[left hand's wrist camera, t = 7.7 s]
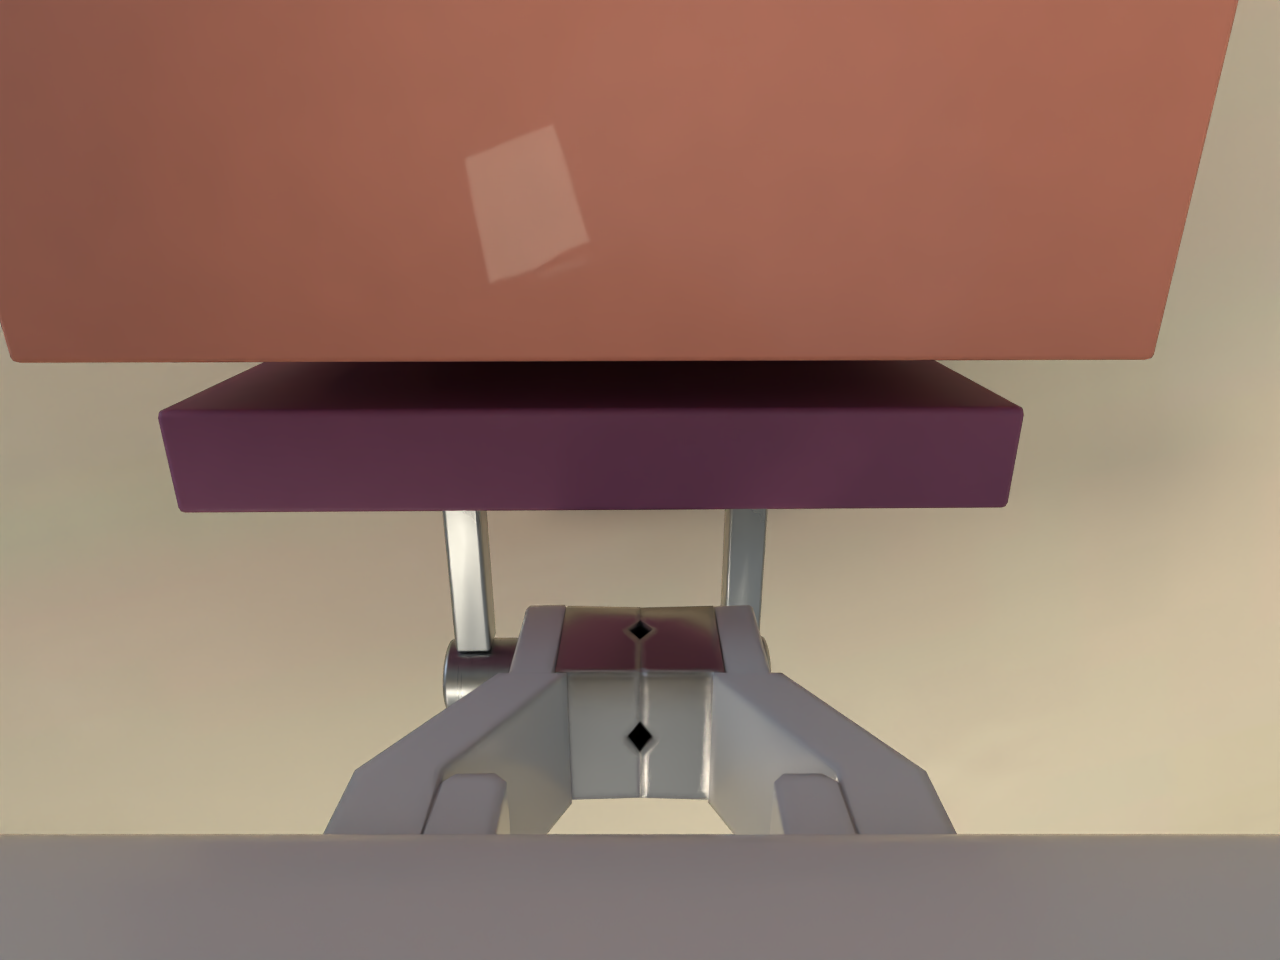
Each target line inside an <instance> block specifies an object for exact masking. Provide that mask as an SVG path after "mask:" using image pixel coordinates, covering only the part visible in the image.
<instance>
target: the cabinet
mask: <svg viewBox="0 0 1280 960" xmlns="http://www.w3.org/2000/svg"><path fill="white" fill-rule="evenodd" d="M1237 4H1238V0H0V322H1V326H2V329H3V333H4V336H5V340H6V343H7V346H8V350H9V353H10V357H11V358H12V360H13V361H16V362H20V363H74V362H450V361H827V360H1145V359H1149V358H1152V356H1153V355H1154V351H1155V347H1156V343H1157V338H1158V334H1159V330H1160V326H1161V322H1162V318H1163V313H1164V309H1165V305H1166V301H1167V297H1168V293H1169V288H1170V284H1171V280H1172V276H1173V272H1174V267H1175V263H1176V259H1177V255H1178V251H1179V247H1180V242H1181V238H1182V234H1183V230H1184V226H1185V221H1186V217H1187V213H1188V209H1189V205H1190V201H1191V196H1192V192H1193V188H1194V184H1195V180H1196V175H1197V171H1198V167H1199V163H1200V159H1201V155H1202V150H1203V146H1204V142H1205V138H1206V134H1207V129H1208V125H1209V121H1210V117H1211V113H1212V109H1213V104H1214V100H1215V96H1216V92H1217V88H1218V83H1219V79H1220V75H1221V71H1222V67H1223V63H1224V58H1225V54H1226V50H1227V46H1228V42H1229V37H1230V33H1231V29H1232V25H1233V21H1234V17H1235V12H1236V8H1237Z"/></svg>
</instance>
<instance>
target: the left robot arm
mask: <svg viewBox="0 0 1280 960" xmlns="http://www.w3.org/2000/svg"><path fill="white" fill-rule="evenodd" d="M607 798H672V799H708V803H709V804H710V805H711V806H712V808H713V809H714V810H715V811H716V813H717V814H718V815H719V816H720V818H721V819H722V820H723V821H724V823H725V824H726V825H727V826H728V828H729V829H730V830H731V831H732V833H733V834H547V833H548V832H549V831H550V829H551V828H552V827H553V826H554V825H555V823H556V822H557V821H558V820H559V818H560V817H561V816H562V815H563V813H564V812H565V811H566V810H567V808H568V807H569V806H570V805H571V804H572V799H607ZM0 960H1280V834H957V833H956V831H955V829H954V827H953V825H952V823H951V821H950V819H949V817H948V815H947V813H946V811H945V809H944V807H943V805H942V803H941V801H940V799H939V797H938V795H937V793H936V791H935V789H934V787H933V785H932V783H931V781H930V779H929V777H928V774H927V772H926V771H925V770H923V769H922V768H920V767H919V766H917V765H916V764H914V763H913V762H911V761H910V760H908V759H907V758H906V757H904V756H903V755H901V754H900V753H898V752H897V751H895V750H894V749H892V748H891V747H889V746H888V745H887V744H885V743H884V742H882V741H881V740H879V739H878V738H876V737H875V736H873V735H872V734H870V733H869V732H867V731H866V730H865V729H863V728H862V727H860V726H859V725H857V724H856V723H854V722H853V721H851V720H850V719H848V718H847V717H845V716H844V715H843V714H841V713H840V712H838V711H837V710H835V709H834V708H832V707H831V706H829V705H828V704H826V703H825V702H824V701H822V700H821V699H819V698H818V697H816V696H815V695H813V694H812V693H810V692H809V691H807V690H806V689H804V688H803V687H802V686H800V685H799V684H797V683H796V682H794V681H793V680H791V679H790V678H788V677H787V676H785V675H784V674H782V673H771V671H770V667H769V664H768V660H767V657H766V653H765V649H764V646H763V642H762V639H761V635H760V631H759V628H758V624H757V621H756V617H755V614H754V610H753V607H751V606H750V605H735V606H690V607H649V608H640V607H603V606H567V607H566V606H565V605H546V606H530V607H528V609H527V610H526V613H525V616H524V620H523V624H522V627H521V631H520V635H519V638H518V642H517V645H516V649H515V653H514V656H513V660H512V664H511V667H510V671H509V673H498V674H496V675H495V676H493V677H492V678H490V679H489V680H487V681H486V682H484V683H483V684H481V685H480V686H478V687H477V688H475V689H474V690H473V691H471V692H470V693H468V694H467V695H465V696H464V697H462V698H461V699H459V700H458V701H456V702H455V703H453V704H452V705H450V706H449V707H448V708H446V709H445V710H443V711H442V712H440V713H439V714H437V715H436V716H434V717H433V718H431V719H430V720H428V721H427V722H425V723H424V724H422V725H421V726H420V727H418V728H417V729H415V730H414V731H412V732H411V733H409V734H408V735H406V736H405V737H403V738H402V739H400V740H399V741H397V742H396V743H395V744H393V745H392V746H390V747H389V748H387V749H386V750H384V751H383V752H381V753H380V754H378V755H377V756H375V757H374V758H372V759H371V760H369V761H368V762H367V763H365V764H364V765H362V766H361V767H359V768H358V769H356V770H355V771H354V773H353V775H352V777H351V779H350V781H349V783H348V785H347V787H346V789H345V791H344V793H343V795H342V797H341V799H340V801H339V803H338V805H337V807H336V809H335V811H334V813H333V815H332V817H331V819H330V821H329V823H328V825H327V827H326V829H325V831H324V833H323V834H0Z"/></svg>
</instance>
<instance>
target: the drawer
mask: <svg viewBox="0 0 1280 960" xmlns="http://www.w3.org/2000/svg"><path fill="white" fill-rule="evenodd" d="M1023 416H1024V414H1023V409H1022V408H1021V407H1019V406H1018V405H1016V404H1014V403H1012V402H1010V401H1008V400H1007V399H1005V398H1003V397H1001V396H999V395H997V394H996V393H994V392H992V391H990V390H988V389H986V388H984V387H983V386H981V385H979V384H977V383H975V382H973V381H972V380H970V379H968V378H966V377H964V376H962V375H960V374H959V373H957V372H955V371H953V370H951V369H949V368H948V367H946V366H944V365H942V364H940V363H938V362H936V361H935V360H827V361H450V362H263V363H261V364H259V365H257V366H255V367H253V368H251V369H248V370H246V371H244V372H242V373H240V374H238V375H236V376H234V377H231V378H229V379H227V380H225V381H223V382H221V383H219V384H217V385H214V386H212V387H210V388H208V389H206V390H204V391H202V392H200V393H198V394H195V395H193V396H191V397H189V398H187V399H185V400H183V401H181V402H178V403H176V404H174V405H172V406H170V407H168V408H166V409H164V410H161V411H160V412H159V416H158V420H159V424H160V428H161V433H162V437H163V442H164V446H165V450H166V455H167V459H168V463H169V468H170V472H171V477H172V481H173V485H174V490H175V494H176V498H177V503H178V507H179V509H180V510H181V511H182V512H339V511H443V522H444V532H445V542H446V552H447V563H448V573H449V583H450V594H451V604H452V614H453V624H454V635H455V639H454V640H452V641H451V642H450V644H449V646H448V649H447V652H446V656H445V661H444V668H443V696H444V702H445V705H446V708H448V707H449V706H450V705H452V704H453V703H455V702H456V701H458V700H459V699H461V698H462V697H464V696H465V695H467V694H468V693H470V692H471V691H473V690H474V689H475V688H477V687H478V686H480V685H481V684H483V683H484V682H486V681H487V680H489V679H490V678H492V677H493V676H495V675H496V674H498V673H509V671H510V667H511V664H512V660H513V656H514V653H515V649H516V645H517V642H518V638H494V637H495V634H496V629H495V616H494V602H493V589H492V576H491V562H490V549H489V536H488V522H487V511H500V510H660V509H725V522H724V544H723V567H722V590H721V606H735V605H750V606H751V607H753V610H754V614H755V617H756V621H757V624H758V628H759V631H760V617H761V601H762V586H763V570H764V555H765V540H766V524H767V509H821V508H982V507H1004V506H1006V504H1007V502H1008V497H1009V492H1010V486H1011V481H1012V475H1013V470H1014V464H1015V459H1016V454H1017V448H1018V443H1019V437H1020V432H1021V426H1022V421H1023ZM761 639H762V642H763V646H764V649H765V653H766V657H767V660H768V664H769V667H770V671H771V664H770V656H769V650H768V646H767V643H766V641H765V639H764V637H762V636H761Z"/></svg>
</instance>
